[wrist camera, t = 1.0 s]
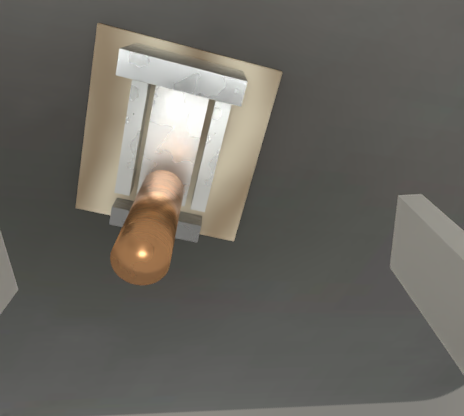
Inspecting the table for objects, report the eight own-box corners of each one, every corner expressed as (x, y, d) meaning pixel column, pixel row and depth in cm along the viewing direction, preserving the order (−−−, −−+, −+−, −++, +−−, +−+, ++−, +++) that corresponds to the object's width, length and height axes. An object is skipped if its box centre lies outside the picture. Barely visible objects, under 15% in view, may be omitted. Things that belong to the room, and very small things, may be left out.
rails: (114, 214, 37) (109, 224, 35) (136, 76, 33) (131, 80, 31) (198, 231, 38) (197, 242, 36) (230, 100, 34) (231, 105, 32)
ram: (113, 192, 36) (66, 271, 25) (136, 42, 31) (91, 57, 20) (206, 212, 37) (201, 297, 26) (242, 70, 32) (255, 98, 21)
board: (78, 204, 38) (75, 208, 37) (100, 23, 32) (97, 23, 31) (233, 237, 39) (233, 241, 39) (281, 71, 34) (282, 72, 33)
